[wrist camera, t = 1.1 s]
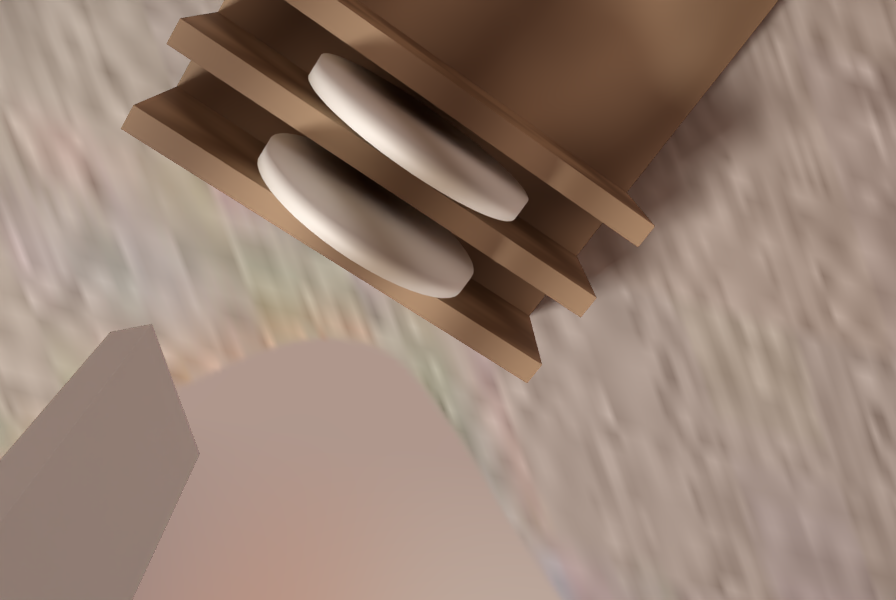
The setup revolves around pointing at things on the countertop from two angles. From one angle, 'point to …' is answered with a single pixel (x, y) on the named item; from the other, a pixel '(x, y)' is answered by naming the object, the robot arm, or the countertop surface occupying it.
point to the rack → (444, 136)
